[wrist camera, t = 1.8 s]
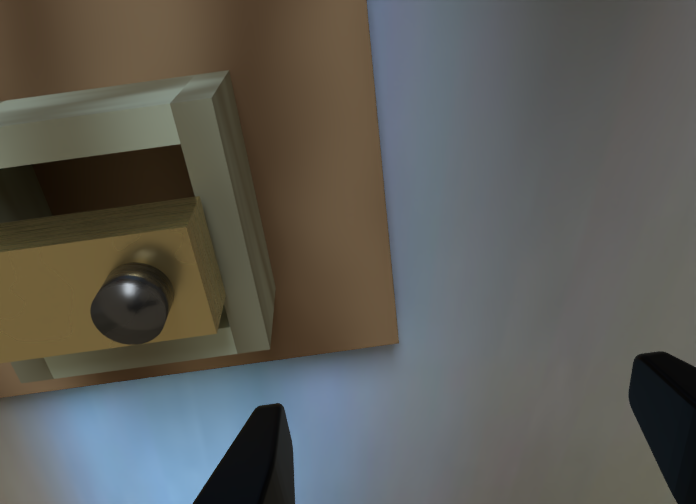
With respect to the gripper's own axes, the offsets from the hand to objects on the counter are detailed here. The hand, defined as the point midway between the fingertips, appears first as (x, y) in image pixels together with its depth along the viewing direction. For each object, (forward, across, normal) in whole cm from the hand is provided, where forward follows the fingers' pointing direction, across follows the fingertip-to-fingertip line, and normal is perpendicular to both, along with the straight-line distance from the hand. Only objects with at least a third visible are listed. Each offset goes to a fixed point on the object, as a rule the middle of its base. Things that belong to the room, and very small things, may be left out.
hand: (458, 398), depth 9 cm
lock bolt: (+7, +8, 0) cm, 10 cm away
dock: (+12, +10, 0) cm, 16 cm away
